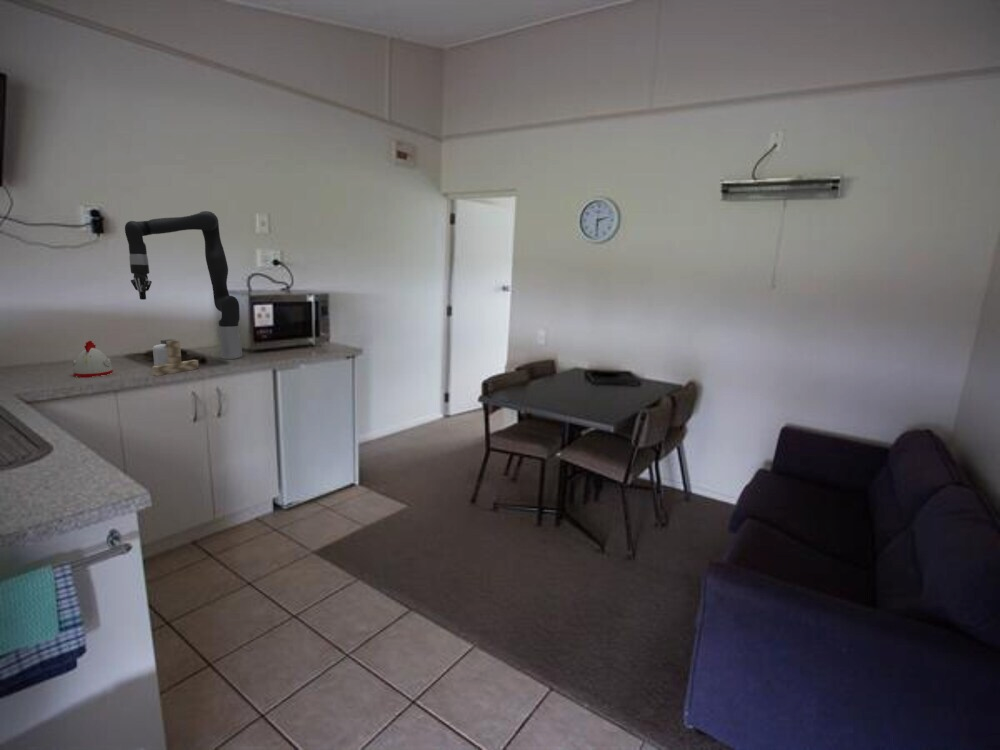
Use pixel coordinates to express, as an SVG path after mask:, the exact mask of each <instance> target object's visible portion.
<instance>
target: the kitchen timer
mask: <svg viewBox="0 0 1000 750" xmlns="http://www.w3.org/2000/svg"><path fill="white" fill-rule="evenodd" d="M96 345H97V344H95V342H93V341H92V340H89V341H88V340H87V342H85V345H84V350H82V351H81V352H80V353H79V354H78V356H77V357H76V359H73V377H75V376H77V377H76V378H93V377H92V376H100V377H102V376H101V375H106V376H108V375H107V374H110V373H112V372H113V373H114V369H113V365H112V362H111V358H110V357H107V356H106V354H104V352H102V351H101V350H100V349H97V348H96ZM113 373H112V374H113ZM110 375H111V374H110Z"/></svg>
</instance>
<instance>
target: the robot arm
mask: <svg viewBox="0 0 1000 750" xmlns="http://www.w3.org/2000/svg"><path fill="white" fill-rule="evenodd" d="M219 227H220V226H219V218H218V216H217V215H216V214H215V213H213V212H212V211H207V210H205V211H200V212H198V213H194V214H191V215H186V216H179V217H178V216H177V217H175V216H174V217H160V218H152V219H148V220H141V221H140V220H139V221H135V220H130V221H127V222H126V223H125V225H124V232H125V233H124V234H125V237H126V240H127V243H128V253H129V258H128V259H129V267H130V268H129V269H130V273H131V274H132V275H133V279H131V280H130V282H131V285H132V286H133V287H134V289H135V291H137V292H138V294H139V295H138V296H139V299H140V300H143V301H144V300H147V294H146V293H147V292H148V291H149V290H150V288H151V286H152V280H149V276H148V274H150V266H149V259H148V254H147V253H148V252H147V246H146V243H145V242H144V238H143V237H145V236H151V235H159V234H160V235H161V234H169V233H170V234H171V233H175V232H176V233H177V232H180V231H190V230H199V231H201V232H202V235H203V239H204V256H205V261H206V266H207V270H208V273H209V279H210V281H211V286H212V294H213V302H214V307H215V308H216V310H218V311H219V312H221V318H220V319H219V321H218V330H219V331H218V333H219V342H220V343H219V344H220V354H221V359H223V360H233V359H235V360H237V359H241V358H243V345H242V339H241V338H240V330H239V327H240V325H239V322H240V318H241V317H240V304H239V300H238V298H236V297H235V296H234V295H230V293H229V289H228V285H227V283H228V276H229V275H228V274H229V267H228V266H229V265H228V261H227V258H226V254H225V251H224V247H223V243H222V239H221V234H220V228H219Z"/></svg>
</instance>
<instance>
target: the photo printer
mask: <svg viewBox="0 0 1000 750" xmlns="http://www.w3.org/2000/svg"><path fill="white" fill-rule="evenodd" d="M152 356H153V364H154V365H153V366H158V365H164V364H168V354H167V345H166V344H161V343H159V344H155V345H153V347H152Z"/></svg>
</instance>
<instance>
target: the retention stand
mask: <svg viewBox="0 0 1000 750" xmlns="http://www.w3.org/2000/svg"><path fill="white" fill-rule="evenodd" d="M160 344H166V345H167V354H168V364H164V365H158V366H154V365H152V376H155V377H158V376H164V375H170V374H175V373H176V374H177V373H182V372H186V371H192V370H193V371H194V370H198V369H200V368H199V366H200V365H199V360H198V359H189V360H183V361H182V353H181V352H182V351H181V341H180V340H178V339H173V338H170V339H162V340H160Z"/></svg>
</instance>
